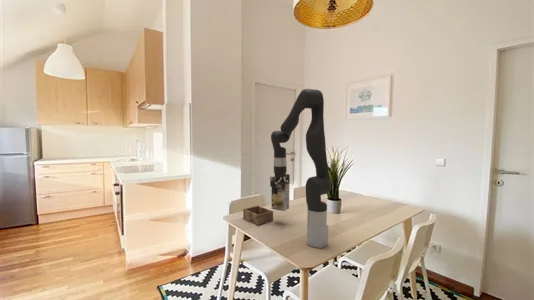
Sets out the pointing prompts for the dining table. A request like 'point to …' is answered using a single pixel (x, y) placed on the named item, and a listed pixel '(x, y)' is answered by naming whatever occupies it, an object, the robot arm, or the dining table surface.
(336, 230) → the dining table surface
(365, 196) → the dining table surface
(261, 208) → the walnut caddy
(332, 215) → the dining table surface
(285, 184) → the coffee box
